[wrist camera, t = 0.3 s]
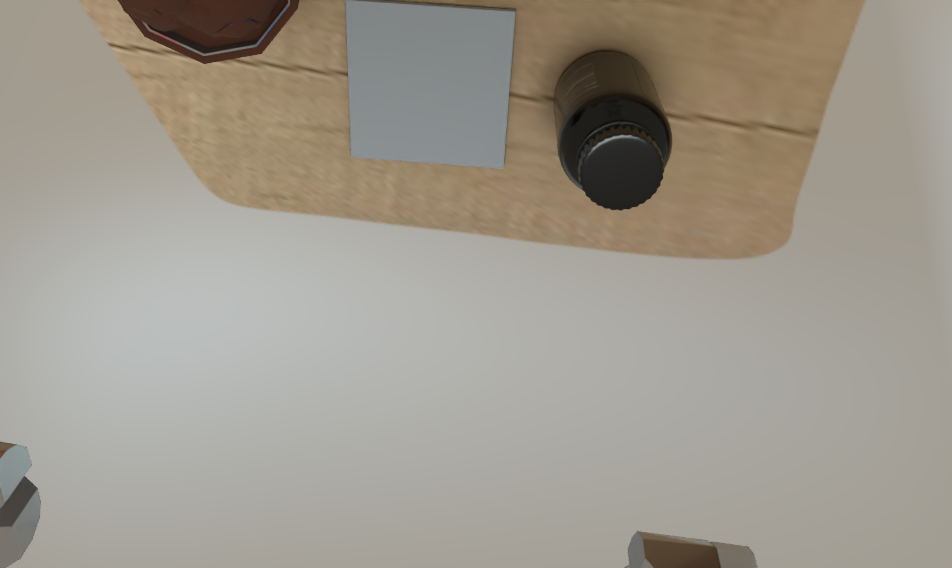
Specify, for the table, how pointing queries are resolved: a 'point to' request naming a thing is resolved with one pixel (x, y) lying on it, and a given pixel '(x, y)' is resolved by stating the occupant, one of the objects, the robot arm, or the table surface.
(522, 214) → the table surface
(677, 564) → the robot arm
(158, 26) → the ice cream bowl
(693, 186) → the table surface
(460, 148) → the felt pad
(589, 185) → the supplement bottle
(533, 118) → the table surface
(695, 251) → the table surface
